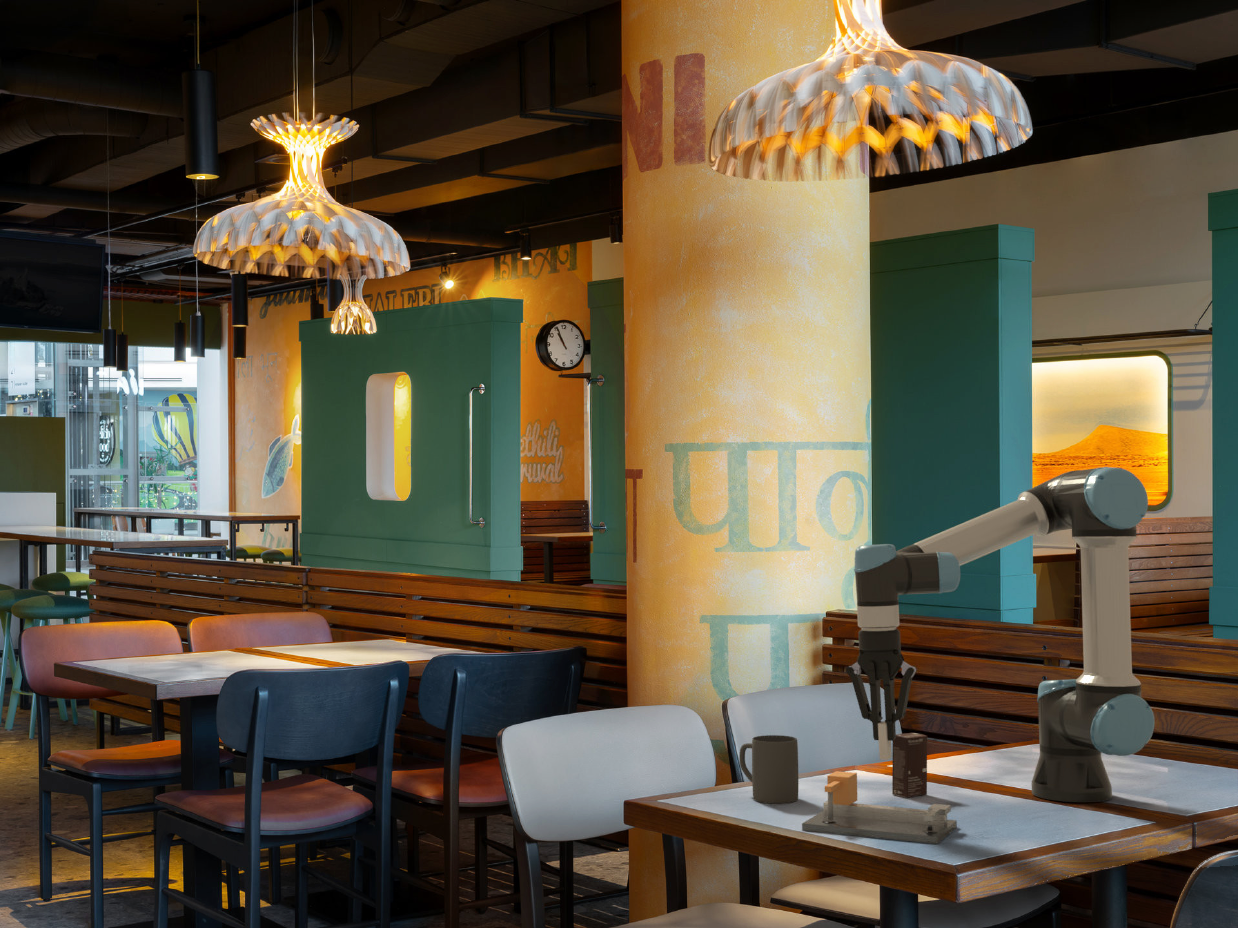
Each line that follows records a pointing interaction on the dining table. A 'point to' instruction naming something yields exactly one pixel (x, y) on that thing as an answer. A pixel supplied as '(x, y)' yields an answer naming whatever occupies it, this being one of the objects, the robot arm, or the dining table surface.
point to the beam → (894, 813)
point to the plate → (879, 828)
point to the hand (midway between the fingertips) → (885, 758)
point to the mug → (772, 768)
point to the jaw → (841, 790)
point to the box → (909, 765)
